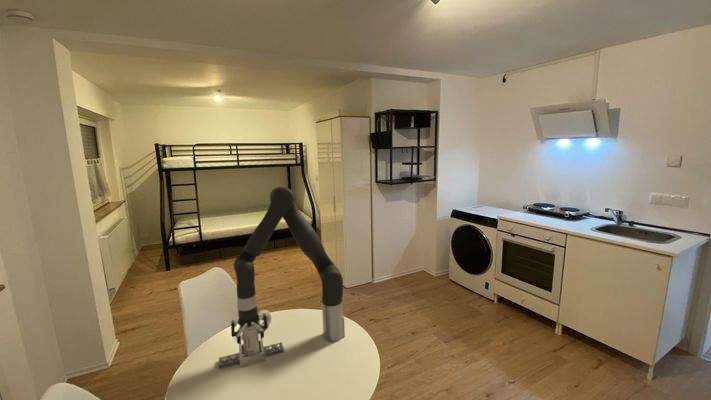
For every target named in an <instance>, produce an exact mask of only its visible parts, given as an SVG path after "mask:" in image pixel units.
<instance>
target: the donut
mask: <svg viewBox="0 0 711 400" xmlns="http://www.w3.org/2000/svg"><path fill="white" fill-rule="evenodd" d="M264 313H265V314H266V319H267V325H268V327H270V324H271V322H272V314H271V312H270V311H268V310H267V309H262V310H260V311H258V315H259V316H261V315H263V314H264ZM261 321H262V320H261V319H260V320H259V321H258V322H259V323H260V324H261V325H262V326H263V325H264V321H262V322H261ZM258 332H260V330H259V329H258Z"/></svg>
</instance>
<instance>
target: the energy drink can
mask: <svg viewBox="0 0 711 400" xmlns="http://www.w3.org/2000/svg"><path fill="white" fill-rule="evenodd" d="M241 334H242V342H243V343H242V344H244V353H243V354H244V357H245V356H249V355H253V354H256V353H260V352H261V349H259V340H260V339H259V331H258V329H257V328H256V327H255V326H253V325H251V326H246V327H245V329H244V331H243V332H242V333H241Z"/></svg>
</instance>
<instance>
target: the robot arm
mask: <svg viewBox="0 0 711 400" xmlns="http://www.w3.org/2000/svg"><path fill="white" fill-rule="evenodd" d="M269 201H270V203H269V207H268V209H267V212H266V213H265V215H264V217H263V218H262V219H261V221H260V222H259V223H258V225H257V226H256V228H255V229H254V230H253V232H252V234H251V236H250V237H249V239H248V241H247V242H246V244H245V246H244V248H242V250H241V251H240V253H239V254H238V255H237V256H236V258H235V260H234V262H233V271H234V272H235V276H236V297H237V299H236V301H237V313H238V315H237V316H238V320H231V321H230V327H231V328H230V331H231V337H232V338H233V337H236V342H237V343H236V344H238V345H242V340H241V339H242V338H241V337H242V336H241V335H242V334H243V333H242V332H243V331H244V329H245V327H246V326H251V325H253V326H255V327H256V328H257V329H259V330H260V331H259V334H260V340H263V338H265V330H267V329H268V328H269V326H268V325H267V319H266V314H265V313H264V314H263V315H261V316H259V315H258V312H259V311H258V310H259V309H258V301H257V299H258V298H257V293H256V285H255V278H256V277H255V276H256V275H255V273H256V272H255V266H254V261H255V260H256V259H257V257H259V256H261V254H262V253H263V251H264V250H265V248H266V246H267V245H268V242H269V241H270V239H271V237H272V235H273V233H274V232H275V230H276V228H277V226H279V223H281V220H282V219H283V220H284V221H285V223H286V225H287V227H288V229H289V231H290V234H291V236H292V237H293V239H294V240H295V242H296V244H297V245H298V247H299V248H300V250H301V251H302V252H303V254H304V255H305V256H306V257H307V258H308V259H309V260H310V261H311V263H312V264H313V265H314V267H315V269H316V272H317V273H318V276H319V278H320V280H321V284H322V285H321V289H322V290H321V291H322V296H321V309H322V330H323V331H322V332H323V333H322V334H323V339H324V340H326V341H327V342H338V341H341V340H342V339H343V338H345V337H346V333H345V330H346V329H345V327H346V326H345V317H344V314H343V310H344V309H343V297H344V279H343V275H342V273H341V271H340V269H339V268H338V267H337V265H336V264H335V263H334V262H333V260H331V258H330V257H329V255H328V254H327V251H326V249H325V247H324V244H323V243H322V241H321V239H320V236H319V235H318V233H317V232H316V230H315V229H314V227H313V226H312V224H311V223H310V222H309V221H308V220H307V219H306V217H305V216H304V215H302V214H303V213H301V211H300V210H299V208H298V207H297V205H296V202H295V194H294V192H293V191H292V190H291V189H290V188H288V187H286V186H277V187H274V188H273V189H272V190H271V192H270V194H269ZM260 319H261V321H262V322H264V325H263V326H262V325H261V324H262V323H261V322H260V323H259V322H258V321H259V320H260ZM237 325H238V326H239V328H238V329H237V331H236V330H235V328H236V327H237Z"/></svg>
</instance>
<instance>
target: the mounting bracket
mask: <svg viewBox="0 0 711 400" xmlns="http://www.w3.org/2000/svg"><path fill="white" fill-rule="evenodd" d="M263 341H264V340H263V339H259V350H260V353H256V354H253V355H249V356H245V355H244V356H243V354H245V353H244V343H241V345H239V344H238V345H239V346H238V348H239V349H238V351H239V352H236V353H233V354H230V355H229V354H228V355H225V356H222V357H218V370H221V369H224V368H229V367H233V366H236V365H239V366H240V368H243V367H246V366H250V365H253V364H257V363H260V362H264V361H266V358H267V357H270V356H274V355H278V354H283V353H285V350H284V346H283V342H278V343H273V344H270V345H266V346H264V342H263Z"/></svg>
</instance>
